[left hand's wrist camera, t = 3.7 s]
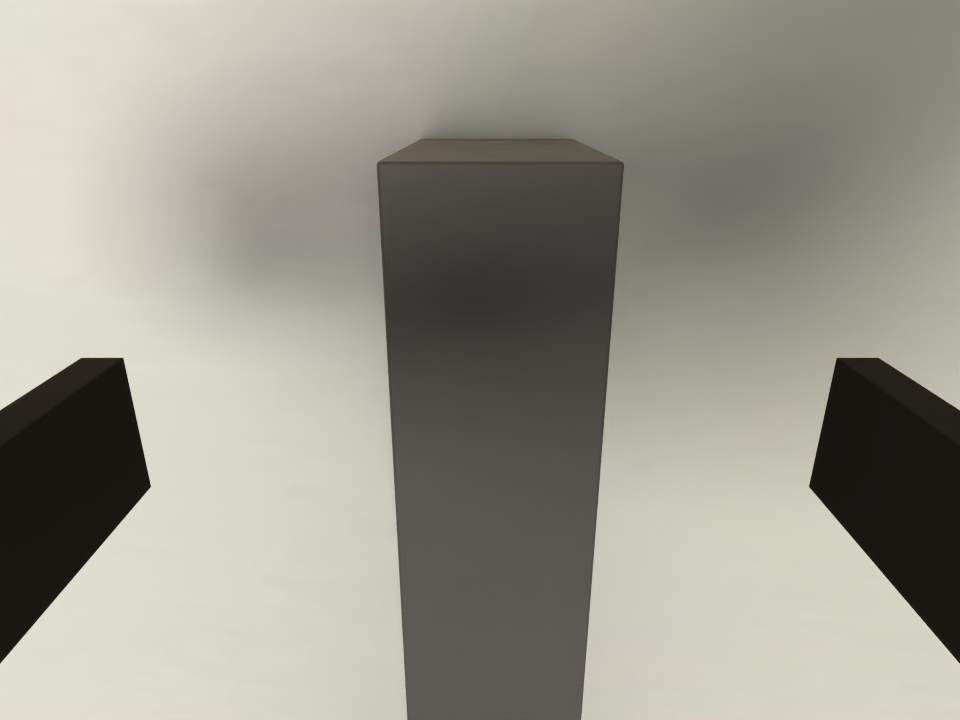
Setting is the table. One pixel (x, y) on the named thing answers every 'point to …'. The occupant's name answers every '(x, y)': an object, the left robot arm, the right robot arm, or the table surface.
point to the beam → (497, 414)
